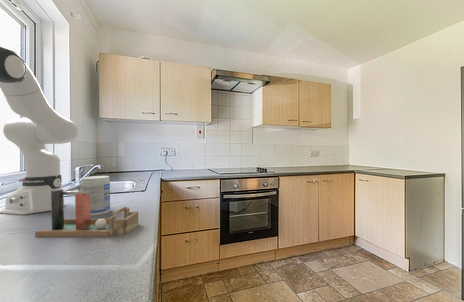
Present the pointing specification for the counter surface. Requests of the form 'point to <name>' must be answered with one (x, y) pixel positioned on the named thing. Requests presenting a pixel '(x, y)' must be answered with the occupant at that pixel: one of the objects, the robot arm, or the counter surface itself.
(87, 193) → the pillars with crossbar
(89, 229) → the tray
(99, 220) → the ball
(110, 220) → the wooden frame
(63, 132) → the robot arm
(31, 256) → the counter surface
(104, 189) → the supplement tub
